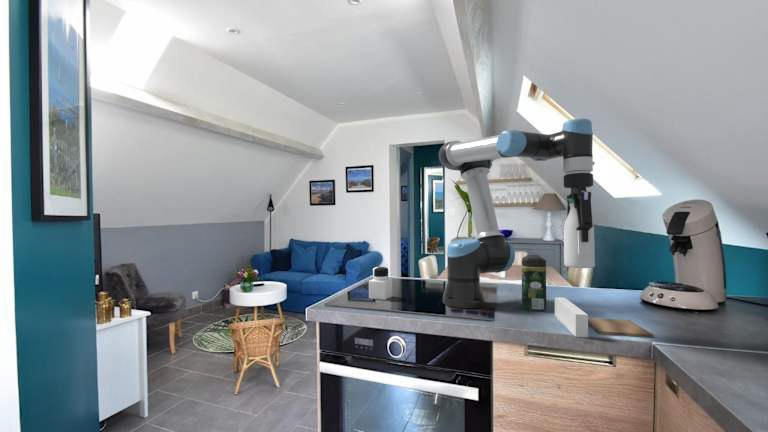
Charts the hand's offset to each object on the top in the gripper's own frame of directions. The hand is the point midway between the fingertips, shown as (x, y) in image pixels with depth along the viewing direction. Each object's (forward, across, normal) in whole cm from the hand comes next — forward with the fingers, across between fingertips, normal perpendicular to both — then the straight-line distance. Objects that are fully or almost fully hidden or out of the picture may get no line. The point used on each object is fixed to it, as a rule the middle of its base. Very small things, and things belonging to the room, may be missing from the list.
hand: (579, 252), depth 101 cm
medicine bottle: (+21, +24, +65) cm, 72 cm away
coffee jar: (+22, +20, +9) cm, 31 cm away
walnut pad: (+22, +2, -10) cm, 24 cm away
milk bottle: (+4, 0, 0) cm, 4 cm away
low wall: (+22, +2, +2) cm, 22 cm away
